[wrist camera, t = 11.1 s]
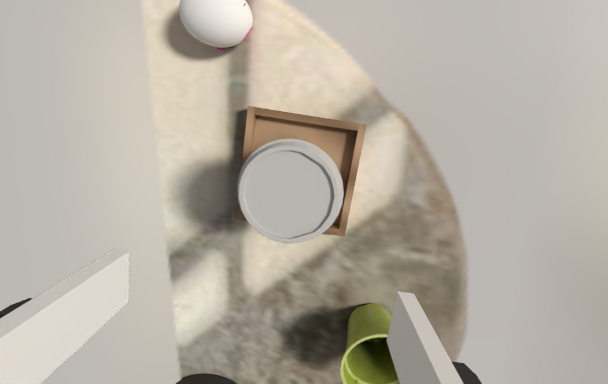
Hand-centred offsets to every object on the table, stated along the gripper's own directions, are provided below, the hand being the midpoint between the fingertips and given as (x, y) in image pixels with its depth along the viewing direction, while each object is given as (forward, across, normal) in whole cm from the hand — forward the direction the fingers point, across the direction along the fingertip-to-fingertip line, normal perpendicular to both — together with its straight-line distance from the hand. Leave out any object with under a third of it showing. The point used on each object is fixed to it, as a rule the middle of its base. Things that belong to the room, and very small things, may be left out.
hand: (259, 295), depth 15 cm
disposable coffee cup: (+24, 0, -2) cm, 24 cm away
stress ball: (+25, +11, -18) cm, 33 cm away
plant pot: (+25, -13, +17) cm, 33 cm away
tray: (+25, 0, -2) cm, 25 cm away
